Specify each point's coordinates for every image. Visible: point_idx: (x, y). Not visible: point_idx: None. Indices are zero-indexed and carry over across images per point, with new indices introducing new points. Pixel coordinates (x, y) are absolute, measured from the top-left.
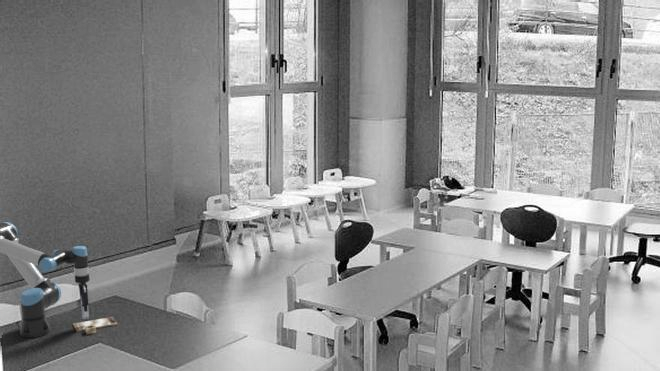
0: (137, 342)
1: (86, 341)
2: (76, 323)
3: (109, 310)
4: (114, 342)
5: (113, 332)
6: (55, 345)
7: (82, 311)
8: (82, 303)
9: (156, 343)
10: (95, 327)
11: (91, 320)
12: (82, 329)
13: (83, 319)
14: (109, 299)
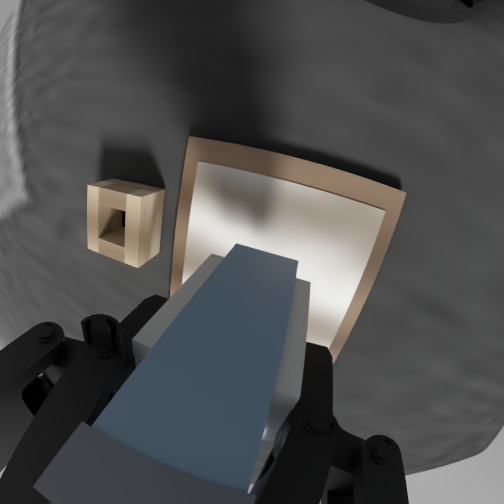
0: (12, 290)
1: (49, 147)
2: (375, 212)
3: (411, 428)
4: (17, 240)
5: (91, 300)
6: (96, 3)
7: (220, 290)
8: (131, 381)
9: (8, 314)
10: (89, 246)
11: (346, 325)
12: (194, 184)
13: (235, 245)
14: (487, 439)
